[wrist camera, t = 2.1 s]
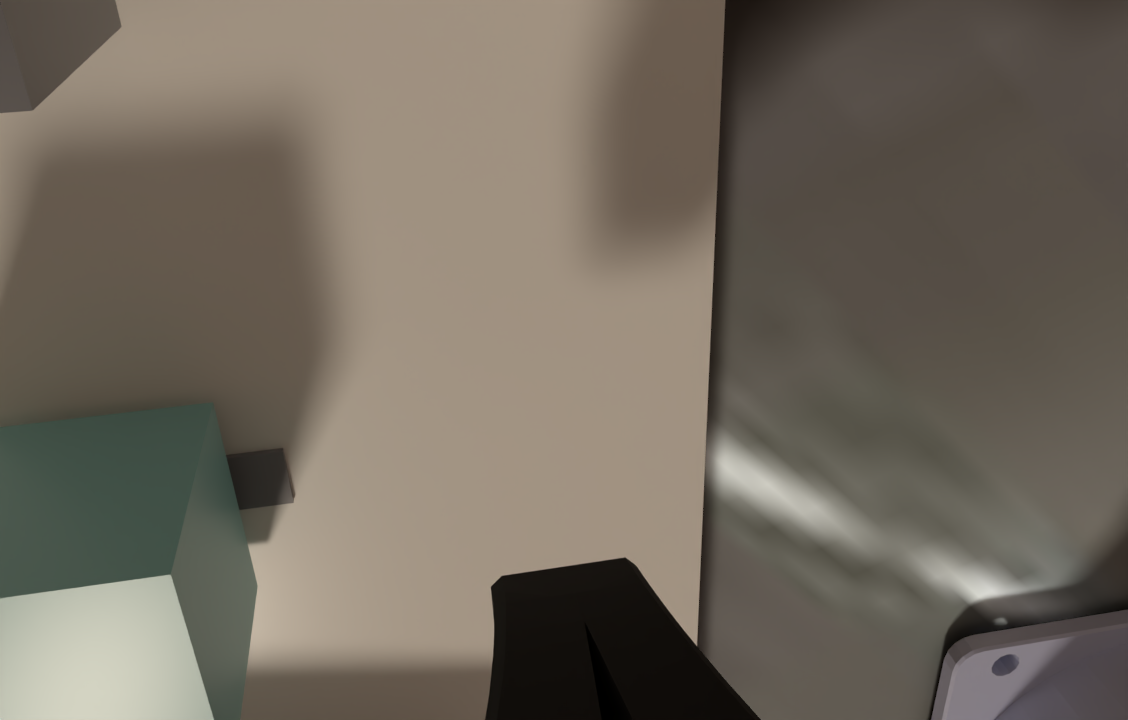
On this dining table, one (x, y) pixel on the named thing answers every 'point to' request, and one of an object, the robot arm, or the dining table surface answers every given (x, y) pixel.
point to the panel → (388, 304)
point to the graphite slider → (48, 45)
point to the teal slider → (122, 570)
